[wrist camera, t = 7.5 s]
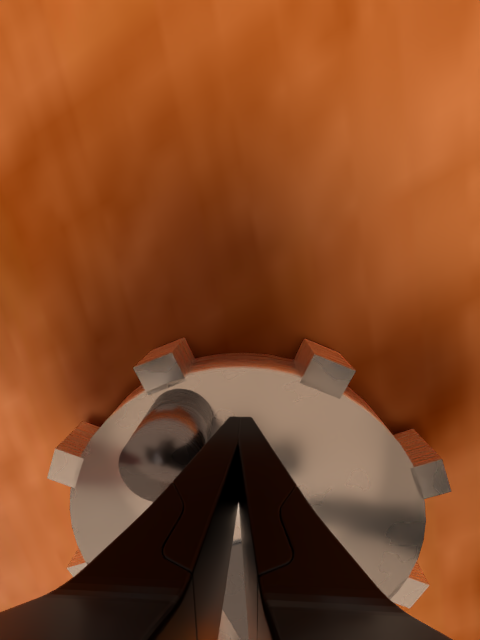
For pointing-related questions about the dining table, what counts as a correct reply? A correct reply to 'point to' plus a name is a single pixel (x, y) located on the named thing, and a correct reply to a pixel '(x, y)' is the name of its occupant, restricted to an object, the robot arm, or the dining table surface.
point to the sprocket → (286, 440)
